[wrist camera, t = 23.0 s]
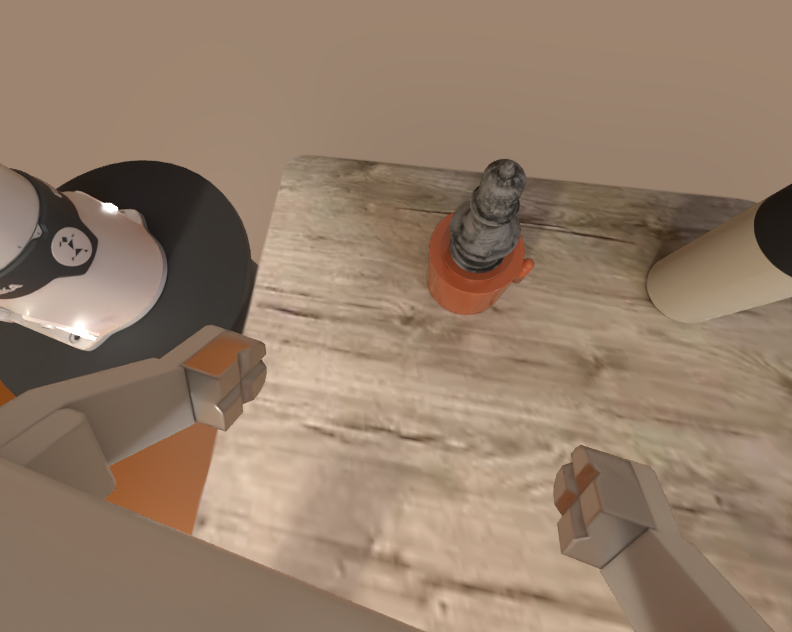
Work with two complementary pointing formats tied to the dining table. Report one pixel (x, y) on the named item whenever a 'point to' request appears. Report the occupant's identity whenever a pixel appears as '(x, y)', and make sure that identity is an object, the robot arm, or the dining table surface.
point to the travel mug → (729, 265)
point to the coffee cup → (470, 275)
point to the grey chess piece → (488, 219)
